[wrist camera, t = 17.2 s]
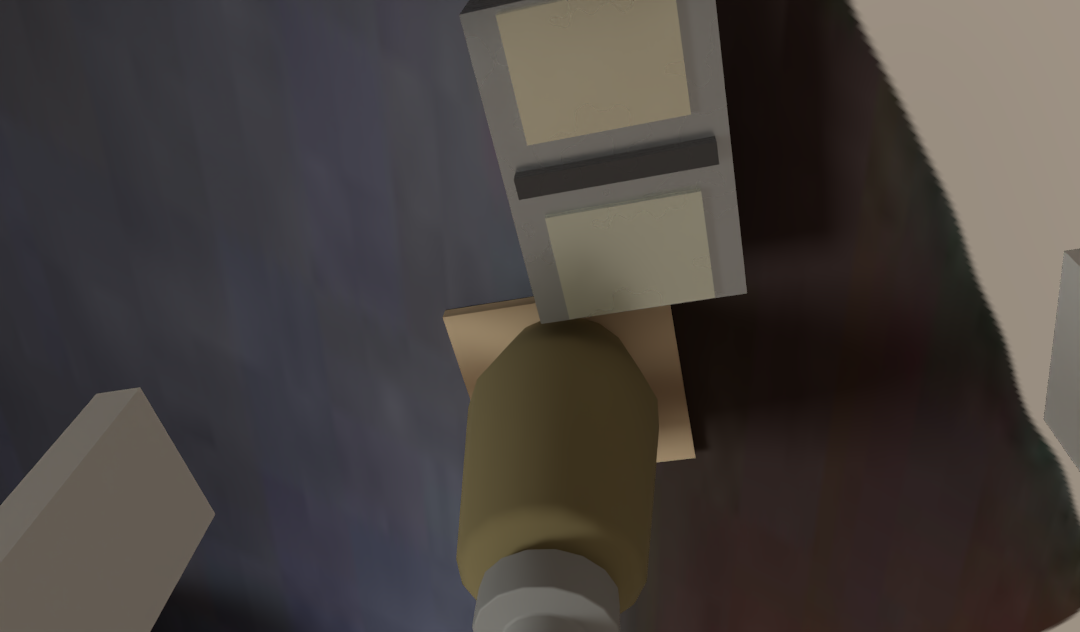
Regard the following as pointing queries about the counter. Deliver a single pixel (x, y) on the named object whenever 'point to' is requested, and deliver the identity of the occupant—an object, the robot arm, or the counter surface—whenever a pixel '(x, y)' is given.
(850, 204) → the counter surface
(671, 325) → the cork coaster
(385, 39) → the counter surface
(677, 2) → the grey box with panels
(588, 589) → the squeeze bottle
